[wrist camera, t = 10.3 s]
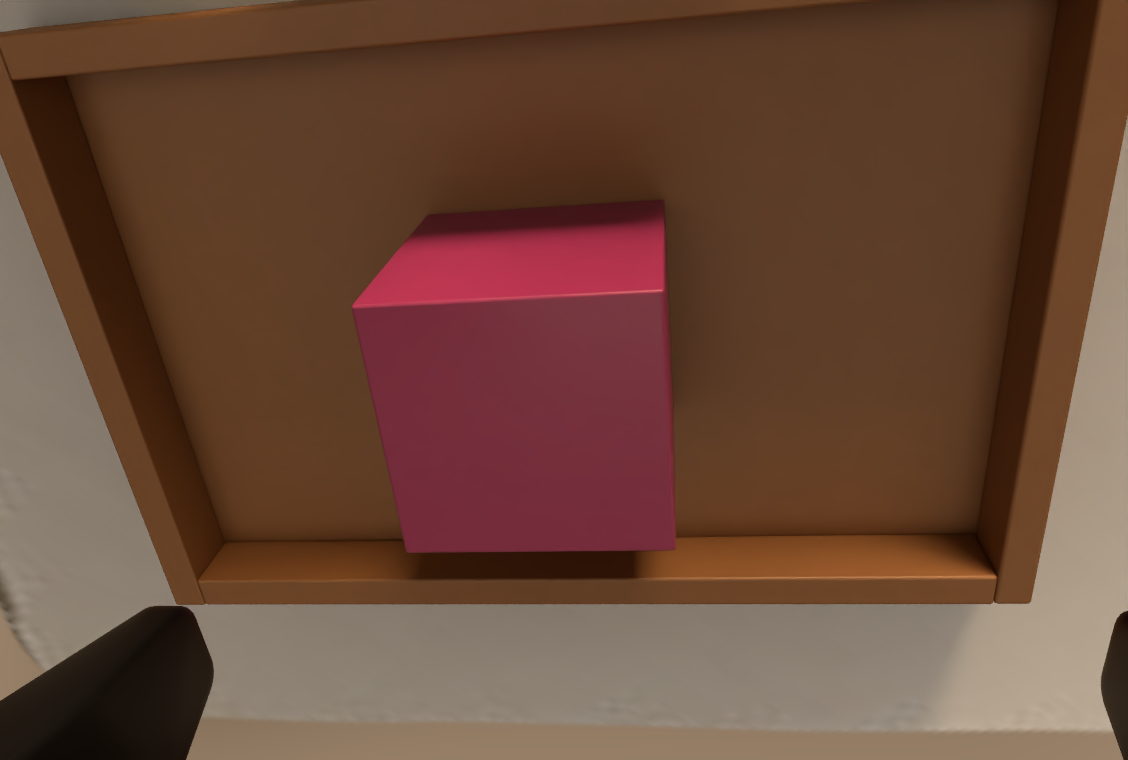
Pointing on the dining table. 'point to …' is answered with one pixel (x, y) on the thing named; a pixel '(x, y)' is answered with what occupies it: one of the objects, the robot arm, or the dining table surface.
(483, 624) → the dining table surface
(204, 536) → the tray
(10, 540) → the dining table surface
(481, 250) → the mulberry block
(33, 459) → the dining table surface
